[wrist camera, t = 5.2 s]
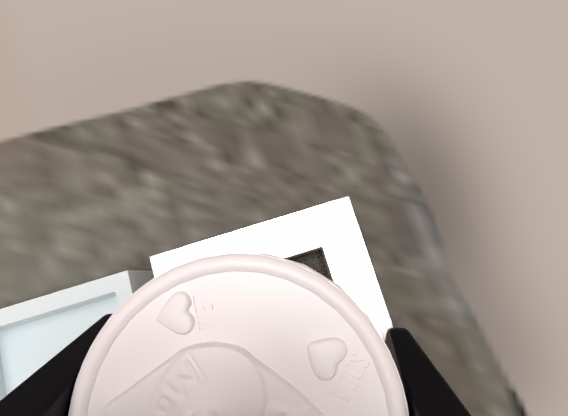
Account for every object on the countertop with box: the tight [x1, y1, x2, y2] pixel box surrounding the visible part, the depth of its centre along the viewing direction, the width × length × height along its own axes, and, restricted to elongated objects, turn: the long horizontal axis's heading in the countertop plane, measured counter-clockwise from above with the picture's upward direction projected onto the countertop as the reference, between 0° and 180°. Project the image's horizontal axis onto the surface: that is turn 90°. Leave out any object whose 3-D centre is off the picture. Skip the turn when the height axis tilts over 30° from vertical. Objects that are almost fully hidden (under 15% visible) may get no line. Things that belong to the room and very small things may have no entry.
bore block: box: [150, 197, 393, 342], centre depth 19 cm, size 10×10×2 cm
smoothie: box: [68, 253, 409, 416], centre depth 9 cm, size 6×6×14 cm
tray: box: [0, 270, 154, 400], centre depth 18 cm, size 10×10×3 cm
